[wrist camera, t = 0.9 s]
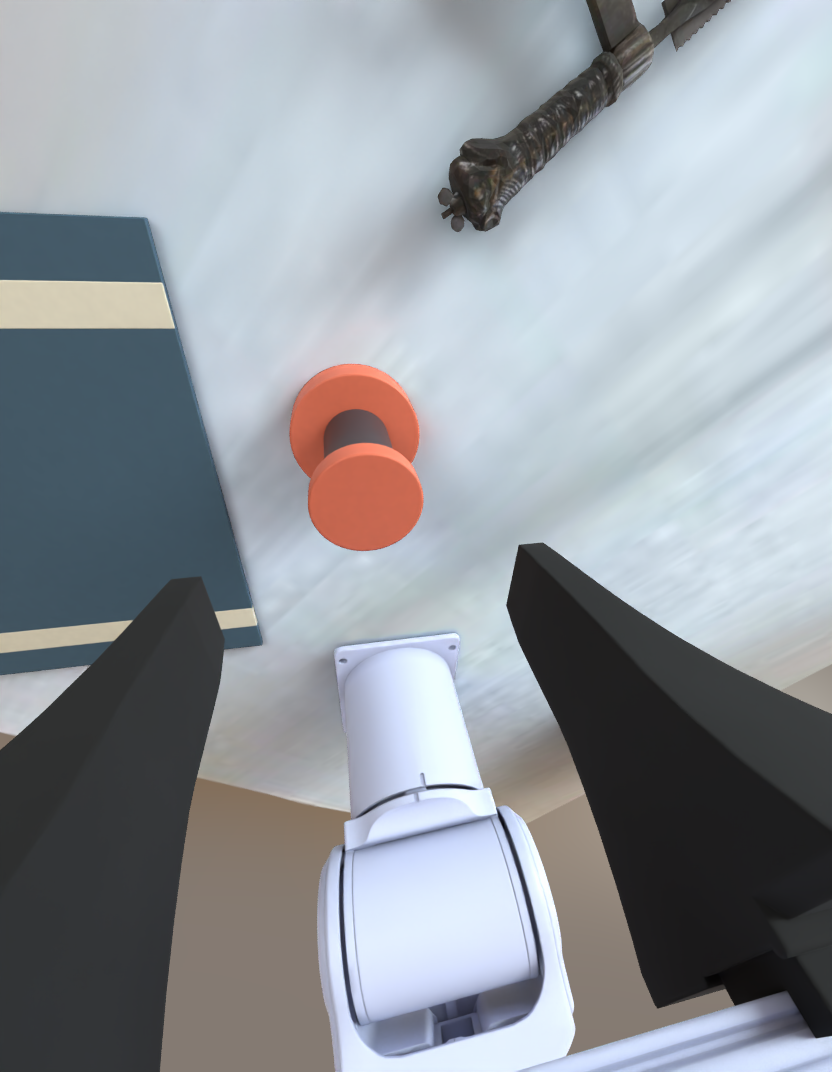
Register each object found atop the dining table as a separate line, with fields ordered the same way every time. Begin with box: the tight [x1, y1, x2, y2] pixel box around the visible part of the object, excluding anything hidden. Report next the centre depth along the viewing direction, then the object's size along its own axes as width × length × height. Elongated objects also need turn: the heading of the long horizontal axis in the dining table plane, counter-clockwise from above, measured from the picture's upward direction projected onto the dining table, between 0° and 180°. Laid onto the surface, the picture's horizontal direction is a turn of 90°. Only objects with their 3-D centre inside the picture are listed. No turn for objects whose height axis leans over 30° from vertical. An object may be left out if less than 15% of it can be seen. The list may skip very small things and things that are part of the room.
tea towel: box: [0, 212, 263, 675], centre depth 18 cm, size 20×14×1 cm
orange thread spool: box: [290, 364, 423, 551], centre depth 16 cm, size 5×5×6 cm
